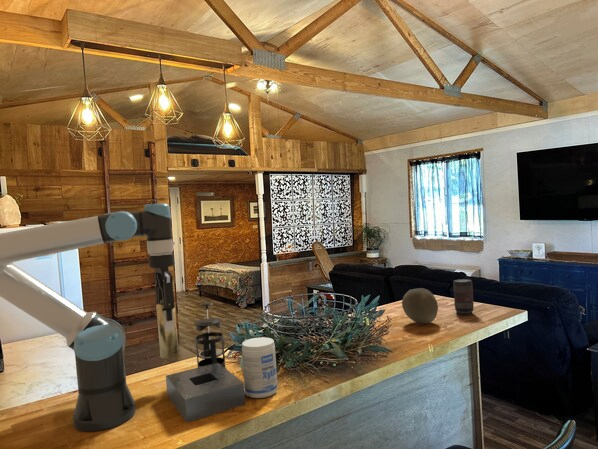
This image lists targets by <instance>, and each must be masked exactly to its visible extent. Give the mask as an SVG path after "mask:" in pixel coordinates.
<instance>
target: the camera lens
mask: <svg viewBox="0 0 598 449" xmlns="http://www.w3.org/2000/svg"><path fill="white" fill-rule="evenodd" d="M452 284H453V285H452V286H453V296H454V310H455V311H456V312H455V314H456V315H459V316H465V317H466V316H467V317H469V316H471V315H473V311H474V307H475V306H474V289H473V287H474V285H473V282H472V279H463V278H462V279H455V280H453V283H452Z"/></svg>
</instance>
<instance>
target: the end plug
mask: <svg viewBox="0 0 598 449" xmlns="http://www.w3.org/2000/svg"><path fill="white" fill-rule="evenodd" d="M175 304H176V303H175V302H174V305H175ZM175 306H176V305H175ZM155 308H156V319H157V330H158V341H159V342H158V344H159V354H160V355H159V356H160V358H161V359H172V358H175V357H177V356H178V355H180V354H179V341H178V330H177V316H176V307H175V308H173V318H174V330H173V331H168V332H165V327H164V315H163V311H162V309H164V305H163V300H160V303H159V304H158V303H156V307H155Z"/></svg>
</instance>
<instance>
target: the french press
mask: <svg viewBox="0 0 598 449" xmlns="http://www.w3.org/2000/svg"><path fill="white" fill-rule="evenodd" d="M213 305H214V303H213V302H204V303H203V302H202V303H201V304H200V307H205V310H206V317H207V318H203V319H199V320H195V321H194V323H193V324H194V326H195V330H196V331H197V332H202V333H201V334H198V335H196V336H195V337H194V338H195V349H196V350H195V351H196V361H197V362H196V363H197V368H198V367H202V366H206V365H210V364H214V363H219V364H220V365H222V366H223V367H224V368H226V369H227V367H226V358H225V357H226V356H225V344H224V334H223V333H222V332H218V331H213V332H212V331H210V327H211V326H215V327H216V328H219V329H221V327H222V322H223V318H222V319H221V318H218V317H209V309H210V308H209V306H213ZM206 328H207V332H206V331H205V332H203V331H204V330H205V329H206ZM211 337H216V338H211ZM201 339H202V340H201ZM219 342H221V347H222V348H217V346H216V343H219ZM198 345H203V346H202V347H203V350H201V351H199V348H198ZM220 356H222V357H220ZM199 359H201V360H200V361H199Z"/></svg>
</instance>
